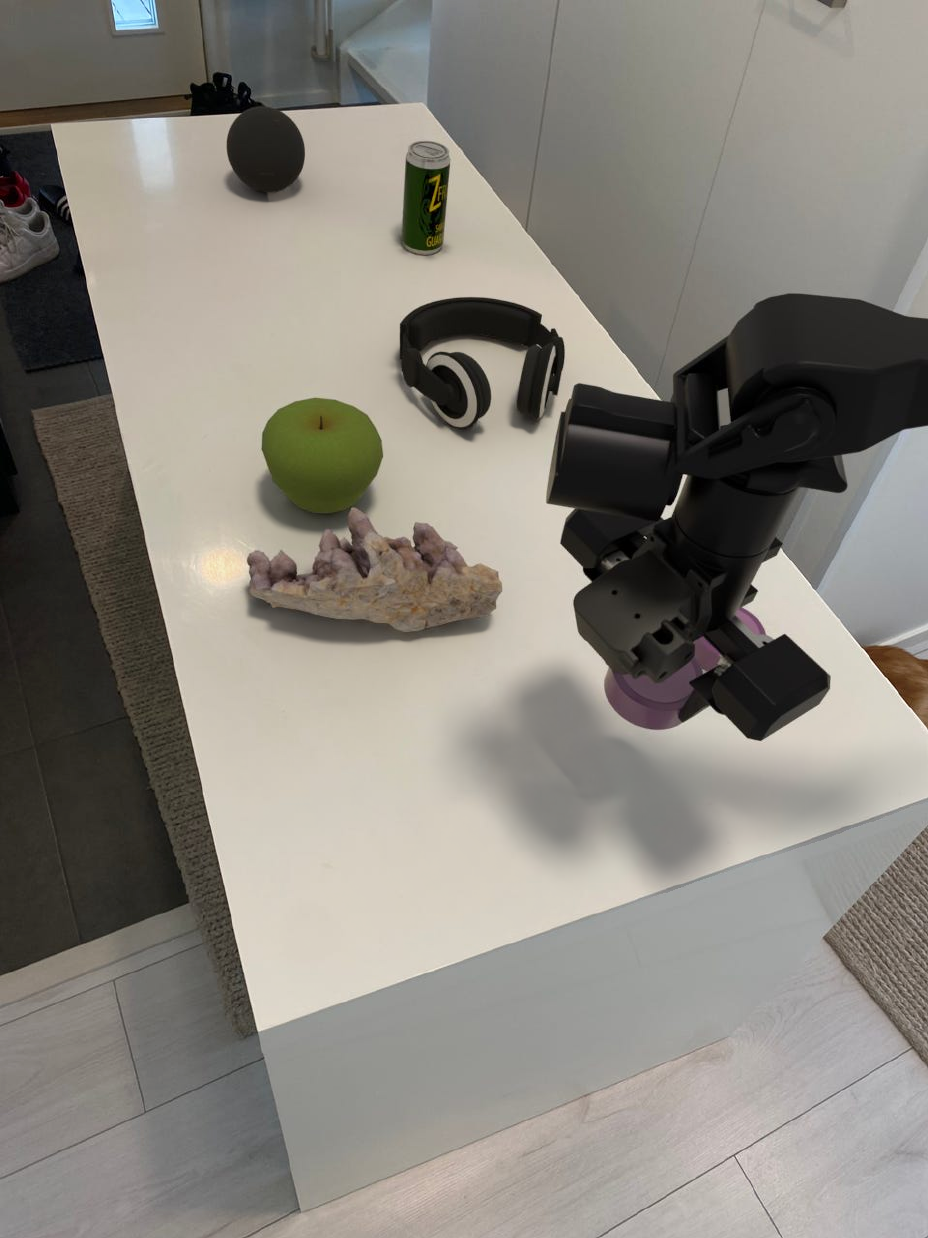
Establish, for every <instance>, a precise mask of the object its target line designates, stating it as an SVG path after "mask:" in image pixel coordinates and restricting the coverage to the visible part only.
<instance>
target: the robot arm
mask: <svg viewBox="0 0 928 1238" xmlns="http://www.w3.org/2000/svg"><path fill="white" fill-rule="evenodd" d="M726 389H727V398H728V399H727V400H728V411H729V418H730V420H729V421H730V422H729V423H728V424H723V425H721V415H720V400H719V392H720V391H722V390H723V391H724V390H726ZM924 427H928V318H926V317H916V316H909V315H908V316H907V315H904V314H901V313H899V312H896V311H893V310H890V309H888V308H885V307H882V306H880V305H876V304H874V303H871V302H868V301H866V300H862V299H860V298H849V297H841V296H840V297H839V296H830V295H818V294H811V293H810V294H809V293H791V292H789V293H784V294H778V295H774V296H773V295H772V296H769V297H767V298H764V299H762V300H760V301H757V302H756V303H755V304H754V306H753V308H752V309H751V310H749V311H748V312H747V313H746V314H744V316H742V317H741V318H740V319H739V320H738V321H737V322H736V324H735V325H734V327H733V328H732V329H731V332H730V333H729V334H728V335H727V336H725V337H723V338H722V339H721V340H719V341H718V342H716V343H715V344H714V345H712V346H711V347H709V348H708V349H706V350H704V352H702V353H701V354H699V355H698V356H697V357H695V358H693V359H692V360H691V361H689V362H688V363H687V364H685V365H683V366H682V367H681V368H679V369H677V370H676V371H675V372H674V373H673V374H672V395H671V398H670V401H667V400H661V399H654V398H649V397H643V396H637V395H632V394H625V393H619V392H616V391H611V390H609V389H607V388H605V387H601V386H597V385H594V384H593V385H592V384H587V383H581V382H578V383H576V384H574V385H573V388H572V393H571V396H570V398H569V399H568V401H567V403H566V407H565V410H564V411H561V412H560V414H559V420H558V424H557V429H556V435H555V439H554V444H553V449H552V456H551V461H550V467H549V473H548V480H547V486H546V496H545V504H547V505H553V506H557V507H564V508H570V509H573V510H572V511H571V512H570V513H569V514H568V515H567V517H565V521H564V524H563V528H562V531H561V537H560V542H559V544H560V545H561V546H562V547H563V548H564V549H565V550H566V551H567V553H569V554H570V556H572V558H573V559H575V561H576V562H577V563H578V564H579V565H580V566H581V567H582V573H583V575H584V576H585V577H586V578H587V579H588V580H589V581H590V582H589V584H587V585H585V586H584V587H583V588H581V589H580V590H579V591H578V592H577V593H576V594H575V596H574V597H573V601H572V605H573V610H574V611H573V612H574V617H575V623H576V629H577V632H578V634H579V636H580V637H581V638H582V639H583V640H584V642H587V643H588V644H589V646H590V647H591V648H592V649H593V650H594V651H595V652H596V654H598V655H599V657H601V659H602V660H603V661H604V662H605V665H606V666H607V667H608V668H610V669H611V670H613V671H614V672H616V673H618V674H622V675H626V674H630V675H631V676H632V678H633V679H637V678H639V677H641V676H643V675H646V676H648V677H649V678H650V679H651V680H652V681H653V682H654V683H662V682H664V681H665V680H666V679H668V678H669V677H670V676H672V675H673V674H674V673H676V672H677V671H678V670H680V669H681V668H682V667H684V666H685V665H686V664H688V663H689V662H690V661H691V660H692V658H693V657H694V655H695V644H694V643H693V642H694V641H696V640H697V639H699V638H701V637H704V638H705V639H706V640H707V641H708V642H709V643H710V644H711V645H712V646H713V647H714V648H715V649H716V650H717V651H718V652H719V653H720V654H721V655H722V656H721V658H720V660H719V662H718V663H717V664H718V666H716V667H715V668H713V669H711V670H709V671H705V672H703V674H702V675H700V676H699V677H697V678H695V679H693V680H692V681H690V682H689V684H690V685H691V686H692V687H693V688H694V690H693V692H692V693H691V695H690V696H689V698H688V700H687V701H686V703H685V704H684V706H683V708H682V710H681V713H680V716H679V720H680V721H681V722H682V723H681V724H684V723H685V722H687V721H689V720H691V719H692V718H694V717H695V716H697V715H698V714H700V713H702V712H703V711H705V710H706V709H707V708H709V707H711V708H712V709H713V711H714V712H715V713H717V714H719V715H721V716H725V717H726V718H727V719H728V720H729V721H730V722H731V723H732V724H733V726H734V727H736V729H738V731H740V733H741V734H742V735H743V736H744V737H745V738H746V739H749V740H753V741H758V742H762V741H764V740H766V739H767V738H768V737H770V736H771V735H773V734H775V733H776V732H778V731H779V730H781V729H783V728H784V727H786V726H788V725H789V724H790V723H792V722H793V721H796V720H797V719H798V718H800V717H802V716H803V715H805V714H806V713H808V712H810V711H811V710H813V709H815V708H816V707H818V706H819V705H820V704H821V703H822V701H823V700H824V699H825V697H826V695H827V694H828V693H829V691H830V690H831V681H832V680H831V679H832V677H831V675H830V674H829V673H828V672H827V671H826V669H824V668H823V667H822V666H821V665H820V664H818V662H817V661H816V660H815V659H813V658H812V657H811V656H810V654H808V653H807V652H806V651H805V650H804V649H803V648H802V647H800V645H798V644H797V642H796V641H794V640H793V639H792V638H791V637H790V636H788V635H787V634H786V633H783V634H781V635H780V636H778V637H775V638H773V637H771V636H770V635H768V634H766V635H764V634H756V633H754V632H753V631H752V630H751V629H750V628H749V627H748V626H747V625H746V624H745V623H744V622H743V621H742V620H741V619H740V618H739V617H738V616H736V615H735V614H736V613H737V611H738V609H739V608H741V607H742V608H744V607H745V606H746V605H747V606H748V605H749V604H751V603H752V602H754V600H755V598H756V597H757V594H758V593H759V590H758V589H757V588H756V587H755V586H754V585H753V584H752V583H753V581H754V580H755V577H756V575H757V573H758V572H759V569H760V567H761V566H762V564H763V563H765V562H767V561H769V560H770V559H772V558H773V559H774V558H775V557H777V556H778V554H779V552H780V550H781V549H782V546H783V544H784V543H783V542H782V541H781V540H780V539H779V538H777V534H778V532H779V530H780V528H781V527H782V525H783V523H784V521H785V519H786V517H787V515H788V513H789V511H790V509H791V507H792V505H793V503H794V502H795V499H796V497H797V495H798V493H799V491H800V489H801V488H803V489H810V490H817V491H823V492H827V493H828V492H829V493H833V494H842V493H844V492H846V491H847V488H848V487H849V484H848V479H847V473H846V469H845V464H844V459H843V456H845V455H851V454H857V453H861V452H863V451H866V450H868V449H870V448H872V447H874V446H875V445H877V444H879V443H881V442H883V441H885V440H887V439H889V438H890V437H893V436H894V435H897V434H898V433H900V432H902V431H905V430H911V429H912V430H913V429H918V428H924ZM684 475H685V476H686V477H685V480H684V482H683V485H682V488H681V484H682V480H683V476H684ZM680 488H681V491H680ZM679 491H680V493H679ZM678 494H679V495H678ZM677 497H678V499H677ZM676 499H677V501H676ZM675 501H676V502H675ZM674 503H676V504H675V506H674V508H673V511H672V514H671V516H670V517H667V518H666V519H664V518H663V517H662V516H663V514H664V511H665V509H666V507H667V506H668V507H671V506H672V505H673V504H674Z"/></svg>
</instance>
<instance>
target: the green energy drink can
mask: <svg viewBox="0 0 928 1238" xmlns="http://www.w3.org/2000/svg"><path fill="white" fill-rule="evenodd" d="M407 147H408V148H407V152H406V154H405V167H404V182H403V183H404V185H403V200H402V201H403V202H402V203H403V204H402V207H403V208H402V220H401V221H402V224H401V241H402V244H403V247H404V248H405V249H406V250H407V251H408V252H410V253H412V254H415V255H420V256H430V255H433V254H436V253H438V252H439V251H440V250H441V249H442V246H443V245H444V237H445V227H446V226H445V225H446V216H447V215H446V214H447V205H448V193H449V181H450V170H451V169H450V168H451V158H450V150H449V148H448V147H447V146H446V145H444V144H442V143H441V142H437V141H433V140H418V141H414V142H411V143H410V144H409V145H408V146H407Z"/></svg>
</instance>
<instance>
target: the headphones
mask: <svg viewBox="0 0 928 1238" xmlns="http://www.w3.org/2000/svg"><path fill="white" fill-rule="evenodd" d="M542 318H543V314H542V313H540V312H539V311H537V310H534V309H532V308H530V307H528V306H525V305H523V304H519V303H516V302H513V301H509V300H504V299H497V298H493V297H491V298H490V297H482V296H481V297H480V296H461V297H460V296H459V297H451V298H444V299H443V298H442V299H439V300H435V301H430V302H428V303H425V304H422V305H420V306H418V307H416V308H414V309H413V310H412V311H410V312H409V313H408V314H407V315H406V316H405V317H404V318H403V319H402V320H401V321H400V323H399V360H400V365H401V372H402V377H403V379H404V382H405V384H406V385H407V387H408V388H414V389H415V390H417V391H418V392H419V393H420V394H421V395H423V396H425V397H426V398H427V399H428V400H430V402H431V404H432V406H433V407H434V410H435V411H436V412H437V413H438V415H439V416H440V417H441V418H442V419H443V420H444V421H445V422H447V423H448V425H450V426H452V427H454V428H456V429H460V430H467V429H470V428H471V427H473V426H474V425H475V424H476V423H477V422H478V420H479V419H481V418H483V417H484V416H486V414H487V412H488V411H489V410H490V407H491V403H492V390H491V384H490V381H489V379H488V377H487V374H486V373H485V371H484V369H483V367H482V366H481V365H480V364H479V363H478V362H477V360H475V359H474V358H473V357H472V356H470V355H468V354H467V353H464V352H461V351H454V352H453V351H452V352H449V351H437V352H434V353H433V354H432V355H430V356H429V358H428V360H427V362H426V364H425V363H424V360H423V356H422V354H421V351H422V350H424V349H425V348H426V347H427V346H428V345H430V344H431V343H434V342H437V341H438V340H441V339H444V338H447V337H453V336H459V335H477V336H486V337H490V338H491V337H492V338H496V339H499V340H500V339H501V340H504V341H507V342H511V343H513V344H516V345H520V346H525V347H527V348H528V349H527V351H526V354H525V356H524V361H523V364H522V368H521V373H520V379H519V382H518V383H519V384H518V390H517V395H516V396H517V397H516V409H517V411H518V412H519V414H521V415H531V417H532V418H533V419H535V421H539V419H542V417H543V414H544V412H545V411H546V408H547V405H548V401H549V397H550V393H551V392H552V396H556V397H557V396H559V395H558V394H559V389H560V384H561V379H562V378H561V377H562V372H563V370H564V365H565V358H566V354H565V353H566V349H565V341H564V339H563V336H559V334H558V332H557V329H556V328H555V327H554V328H550V330H549V328H547V326H545V325H544V324H542Z"/></svg>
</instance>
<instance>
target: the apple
mask: <svg viewBox="0 0 928 1238" xmlns="http://www.w3.org/2000/svg"><path fill="white" fill-rule="evenodd" d="M383 449H384V448H383V441H382V438H381V436H380V433H379V432H378V429H377V427H376V426H375V424H374V422H373V421H372V420H371V418H370V416H369V415H368V414H367V413H365V412H364V411H362V410H360V409H359V408H357V407H355V406H354V405H351V404H349V403H345V402H343V401H340V400H337V399H333V398H322V397H311V398H306V399H301V400H295V401H293V402H291V403H288V404H286V405H284V406H282V407H279V408H278V409H276V411H275V412H274V413H273V414H272V416H270V417H269V419H268V420H267V421H266V424H265V426H264V428H263V431H262V432H261V452H262V455H263V458H264V460H265V463H266V466H267V468H268V471H269V474H270V477H271V480H272V482H273V483H274V485H275V486H276V487H277V488H278V489H279V490H280V491H281V493H283V494H284V496H285V497H286V498H287V499H288V500H289V501H291V503H293V504H294V505H295V506H296V507H297V508H299V509H301V510H304V511H307V512H309V513H312V514H332V513H337V512H343V511H346V510H347V509H348V508H350V507H352V506H353V505H355V504H357V503H358V502H359V500H360V499H361V497H362V496H363V495H364V493H365V492H366V491H367V490H368V488H369V487H370V485H371V484H372V483H373V481H374V480H375V479H376V477H377V475H378V472H379V470H380V467H381V464H382V461H383V458H384V450H383Z"/></svg>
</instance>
